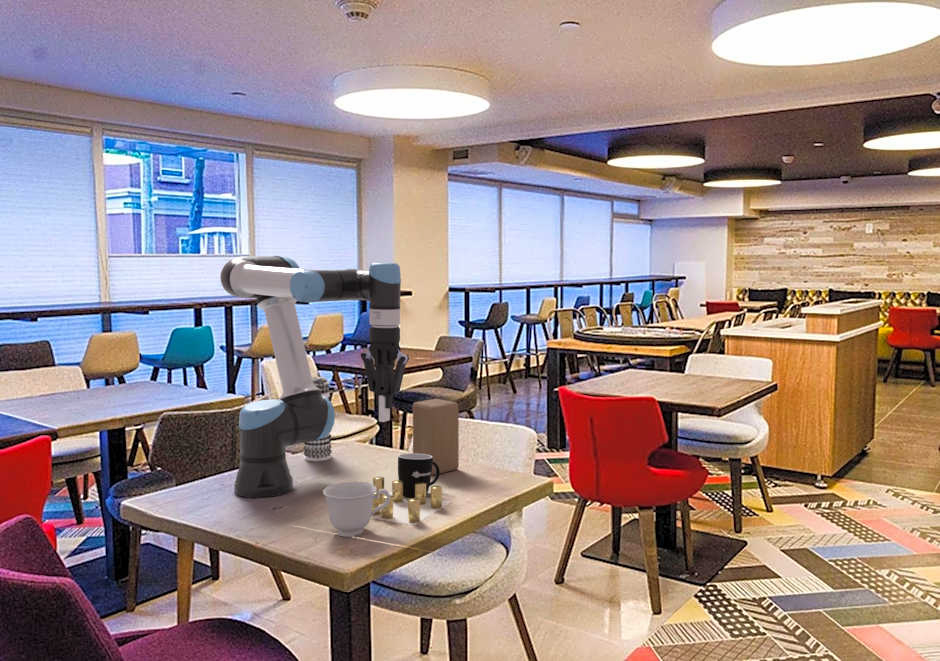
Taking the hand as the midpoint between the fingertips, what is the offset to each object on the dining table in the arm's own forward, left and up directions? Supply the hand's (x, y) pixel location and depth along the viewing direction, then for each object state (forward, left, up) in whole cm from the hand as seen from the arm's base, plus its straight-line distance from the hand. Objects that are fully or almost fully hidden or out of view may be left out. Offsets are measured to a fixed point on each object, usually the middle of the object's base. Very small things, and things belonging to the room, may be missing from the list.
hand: (384, 420), depth 188 cm
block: (-4, +34, -22) cm, 40 cm away
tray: (+3, -1, -21) cm, 22 cm away
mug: (+4, +10, -21) cm, 24 cm away
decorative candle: (-43, +30, -22) cm, 57 cm away
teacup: (+5, -19, -22) cm, 29 cm away
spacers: (+4, -2, -21) cm, 22 cm away
